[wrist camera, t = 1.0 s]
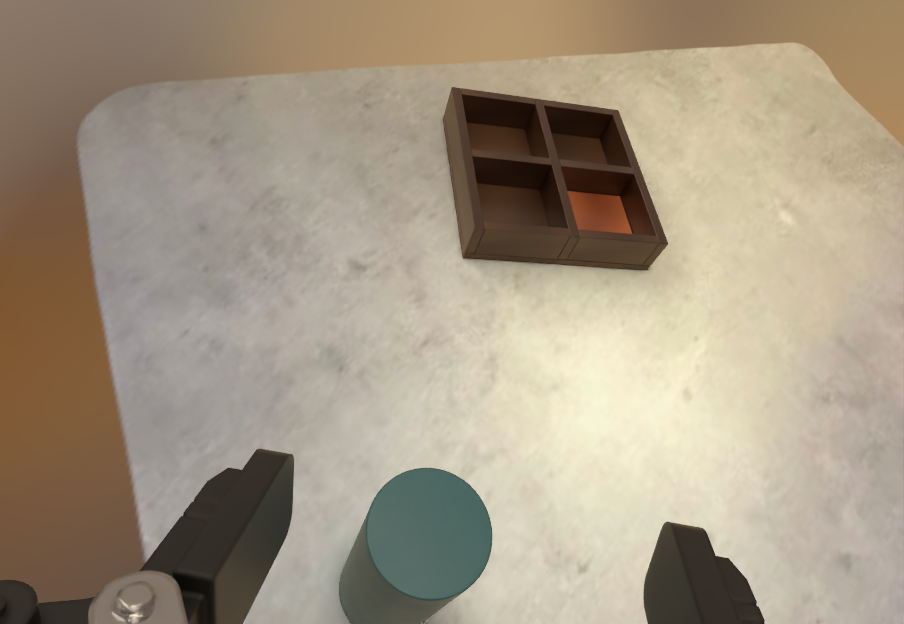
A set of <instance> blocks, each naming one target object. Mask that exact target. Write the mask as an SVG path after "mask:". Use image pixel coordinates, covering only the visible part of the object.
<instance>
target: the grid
mask: <svg viewBox="0 0 904 624" xmlns="http://www.w3.org/2000/svg"><path fill="white" fill-rule="evenodd" d="M443 121H444V128H445V135H446V142H447V149H448V156H449V163H450V170H451V177H452V184H453V191H454V198H455V205H456V212H457V219H458V226H459V233H460V240H461V247H462V254H463V257H465V258H480V259H494V260H509V261H524V262H538V263H553V264H567V265H582V266H597V267H611V268H626V269H640V270H648V268H649V267H650V266H651V265H652V263H653V262H654V261H655V260H656V258H657V257H658V256H659V255H660V253H661V252H662V251H663V250H664V249H665V247H666V246H667V245H668V242H667V240H666V237H665V234H664V232H663V229H662V226H661V224H660V221H659V218H658V215H657V213H656V210H655V207H654V205H653V202H652V199H651V197H650V194H649V191H648V189H647V186H646V183H645V181H644V178H643V175H642V173H641V170H640V167H639V165H638V162H637V159H636V157H635V154H634V151H633V149H632V146H631V143H630V140H629V138H628V135H627V132H626V130H625V127H624V124H623V122H622V119H621V116H620V114H619V111H618V110H612V109H611V110H610V109H605V108H598V107H591V106H584V105H577V104H570V103H562V102H555V101H548V100H541V99H533V98H527V97H519V96H512V95H505V94H498V93H491V92H484V91H477V90H469V89H462V88H461V89H460V88H455V87H452V89H451V92H450V96H449V99H448V103H447V107H446V110H445V114H444V117H443Z"/></svg>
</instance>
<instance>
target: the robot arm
mask: <svg viewBox="0 0 904 624" xmlns="http://www.w3.org/2000/svg"><path fill="white" fill-rule="evenodd" d="M293 477H294V457H293V455H292V454H287V453H281V452H276V451H270V450H264V449H257V450H256V451H255V452H254V454H253V455H252V457H251V458H250V460H249V461H248V463H247V464H246V465H245V467H244V468H243V470H238V469H233V468H227V469H226V470H224V471H223V472H221V473H220V474H218V475H216V476H215V477H213V478H212V479H210V480H209V481H207V483H206V484H205V485H204V487H203V488H202V489H201V491H200V492H199V493H198V495H197V496H196V497H195V499H194V502H192V503H191V504H190V505H189V507H188V508H187V509H186V510H185V512H184V515H183V517H182V516H181V517H180V518H179V520H178V521H177V522H176V524H175V525H174V526H173V528H172V529H171V530H170V532H169V533H168V534H167V536H166V537H165V538H164V540H163V541H162V542H161V543H160V545H159V546H158V547H157V549H156V550H155V551H154V553H153V554H152V555H151V557H150V558H149V559H148V561H147V562H146V563H145V565H144V566H143V567H142V569H141V570H140V571H138V572H133V573H130V574H127V575H124V576H121V577H119V578H117V579H115V580H114V581H112V582H110V583H109V584H107V585H106V586H105V587H104V588H102V589H101V590H100V591H99V592H98V593H97V595H96V596H95V597H93V598H88V599H81V600H70V601H59V602H47V603H38V600H37V595H36V592H35V591H34V589H33V588H32V587H31V586H29V585H28V584H26V583H24V582H20V581H14V580H1V581H0V624H243V622H244V620H245V618H246V616H247V614H248V612H249V610H250V608H251V606H252V604H253V602H254V600H255V598H256V596H257V594H258V592H259V590H260V588H261V586H262V584H263V582H264V580H265V578H266V576H267V574H268V572H269V570H270V568H271V566H272V564H273V562H274V560H275V558H276V556H277V554H278V552H279V550H280V548H281V546H282V544H283V542H284V540H285V538H286V535H287V533H288V529H289V526H290V521H291V516H292V504H293ZM756 603H757V602H756V600H755V597H754V595H753V593H752V590H751V588H750V586H749V583H748V581H747V579H746V578H745V577H744V576H743V575H742V573H741V572H740V571H739V570H738V569H737V568H736V567H735V565H734V564H733V563H732V562H731V561H730V560H729V558H723V557H718V556H715V553H714V551H713V548H712V545H711V543H710V540H709V538H708V535H707V533H706V531H705V530H704V529H703V528H699V527H694V526H688V525H682V524H677V523H671V522H666V523H665V524H664V525H663V527H662V529H661V532H660V535H659V538H658V541H657V544H656V547H655V550H654V553H653V556H652V559H651V562H650V565H649V568H648V571H647V574H646V578H645V584H644V607H645V612H646V617H647V621H648V624H764V618H763V616H762V614H761V611H760V609H759V607H757V606H756Z"/></svg>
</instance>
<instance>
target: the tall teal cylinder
mask: <svg viewBox="0 0 904 624" xmlns="http://www.w3.org/2000/svg"><path fill="white" fill-rule="evenodd" d="M491 547H492V527H491V522H490V518H489V515H488V512H487V509H486V507H485V505H484V503H483V501H482V500H481V498H480V497H479V495H478V494H477V493H476V491H475V490H474V489H473V488H472V487H471V486H470V485H469V484H468V483H466V482H465V481H464V480H463V479H461V478H459V477H458V476H456V475H454V474H452V473H449V472H447V471H444V470H440V469H434V468H419V469H413V470H409V471H406V472H404V473H401V474H400V475H398V476H396V477H394V478H393V479H391V480H390V481H389V482H388V483H387V484H385V485H384V486H383V487H382V489H381V490H380V491H379V492H378V494H377V495H376V497H375V498H374V500H373V502H372V504H371V507H370V509H369V511H368V513H367V516H366V518H365V520H364V523H363V525H362V527H361V529H360V532H359V534H358V536H357V539H356V541H355V543H354V545H353V548H352V550H351V552H350V554H349V557H348V559H347V561H346V564H345V566H344V568H343V571H342V574H341V578H340V585H339V593H340V600H341V604H342V607H343V610H344V612H345V614H346V616H347V617H348V619H349V621H350V622H351V623H352V624H421V623H422V622H423V621H425V620H426V619H427V618H429V617H430V616H431V615H433V614H434V613H435V612H437V611H438V610H440V609H441V608H442V607H444V606H445V605H446V604H448V603H449V602H450V601H452V600H453V599H454V598H456V597H457V596H458V595H460V594H461V593H463V592H464V591H465V590H467V589H468V588H469V587H470V586H471V585H472V584H474V583H475V581H476V580H477V579H478V578H479V577H480V575H481V574H482V572H483V570H484V569H485V567H486V564H487V562H488V559H489V556H490V553H491Z"/></svg>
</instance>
